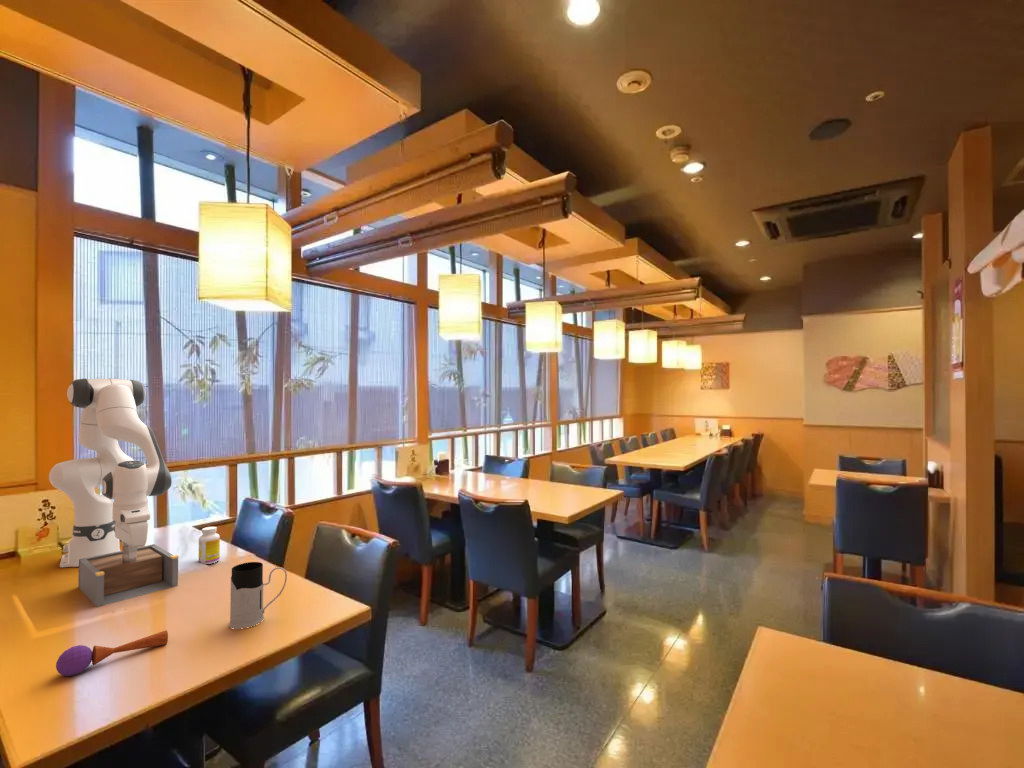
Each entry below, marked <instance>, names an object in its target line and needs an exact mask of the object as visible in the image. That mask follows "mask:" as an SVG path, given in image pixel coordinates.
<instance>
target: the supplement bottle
mask: <svg viewBox="0 0 1024 768" xmlns="http://www.w3.org/2000/svg"><path fill="white" fill-rule="evenodd" d="M217 529H218V527H217V526H207V527H204V528H202V529H201V533H202V534H201V535H200V536H199V537H198V562H199V563H201V564H203V565H205V564H211V563H214V562H217V561H218V562H220V553H221V552H220V547H221V544H220V542H221V541H220V538H221V536H220V534H219V533H217ZM218 562H217V563H218ZM214 564H215V563H214ZM211 565H212V564H211Z"/></svg>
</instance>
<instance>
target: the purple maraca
mask: <svg viewBox="0 0 1024 768" xmlns="http://www.w3.org/2000/svg"><path fill="white" fill-rule="evenodd" d="M168 641H169V633H168V630H167V629H166V630H162V631H160V632H157V633H154V634H151V635H148V636H145V637H142V638H140V639H136V640H134V641H131V642H128V643H124V644H122V645H119V646H116V647H109V646H100V645H93V647H92V649H91V648H90V647H88V646H87V645H81V644H77V645H73V646H71V647H69V648H68V649H66V650H64V651H63V652H62V653H61V654H60V655H59V656H58V658H57V660H56V664H55V668H56V672H58V674H60V675H62V676H64V677H72V676H76V675H79V674H81V673H82V672H83V671H85V670H86V669H87V668H88V667H90V665H91V664H92V666H93V667H94V666H95V665H97V664H99V663H100V662H102V661H103V660H105V659H107V658H108V657H109V656H112V655H113V654H116V653H117V654H118V653H122V652H128V651H129V652H130V651H134V650H140V649H141V650H143V649H147V648H152V647H153V648H154V647H160V646H164V645H165V646H166V645H167V644H168ZM91 662H92V663H91Z"/></svg>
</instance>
